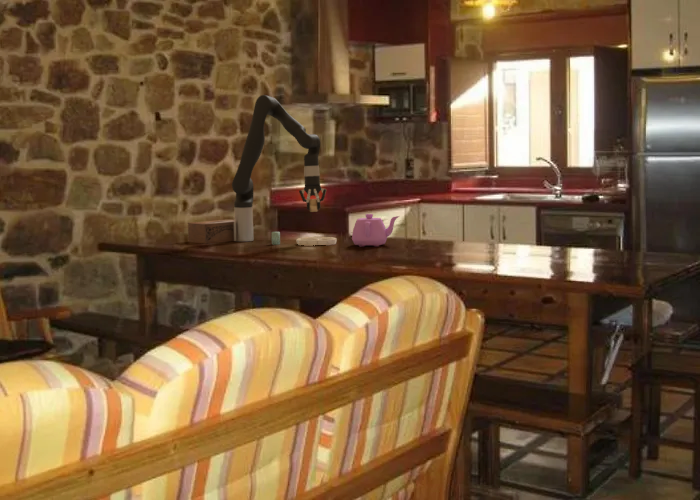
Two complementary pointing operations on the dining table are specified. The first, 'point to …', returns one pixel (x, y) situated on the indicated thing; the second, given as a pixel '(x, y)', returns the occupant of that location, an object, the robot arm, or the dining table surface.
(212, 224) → the tissue box cover
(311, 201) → the bead oak
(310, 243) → the tray
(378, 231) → the teapot
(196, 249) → the dining table surface
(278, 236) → the bead teal
